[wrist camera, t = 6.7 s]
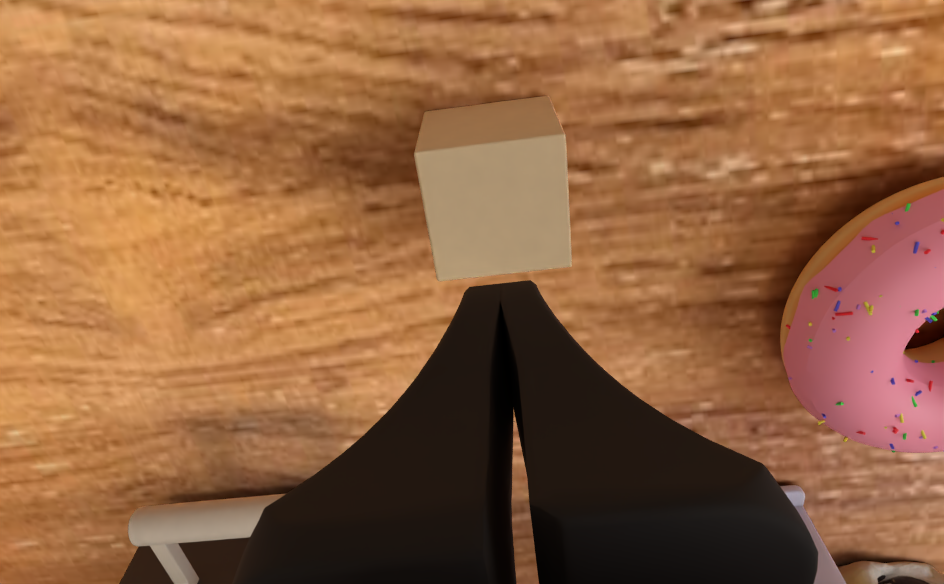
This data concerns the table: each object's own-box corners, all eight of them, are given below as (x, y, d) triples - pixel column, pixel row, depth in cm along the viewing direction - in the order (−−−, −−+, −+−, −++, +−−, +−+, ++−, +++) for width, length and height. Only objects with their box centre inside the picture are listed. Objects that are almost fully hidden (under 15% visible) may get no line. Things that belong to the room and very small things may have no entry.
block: (549, 94, 19) (566, 133, 16) (556, 211, 21) (572, 268, 18) (423, 110, 19) (413, 152, 16) (443, 224, 21) (436, 282, 18)
